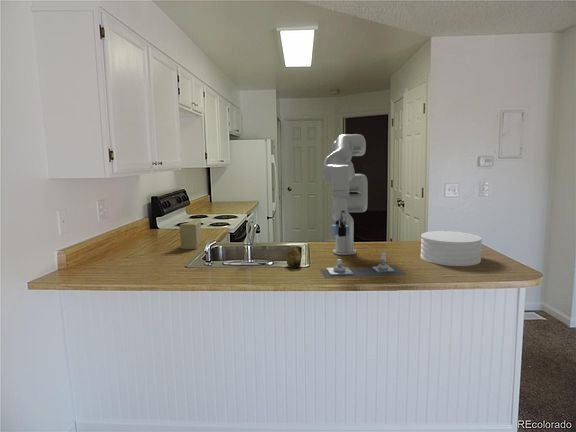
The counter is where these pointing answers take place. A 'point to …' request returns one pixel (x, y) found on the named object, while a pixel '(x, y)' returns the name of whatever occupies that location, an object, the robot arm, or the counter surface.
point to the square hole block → (335, 229)
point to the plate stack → (451, 248)
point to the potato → (293, 258)
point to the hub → (339, 269)
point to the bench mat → (364, 272)
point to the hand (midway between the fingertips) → (340, 234)
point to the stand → (383, 266)
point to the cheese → (191, 234)
